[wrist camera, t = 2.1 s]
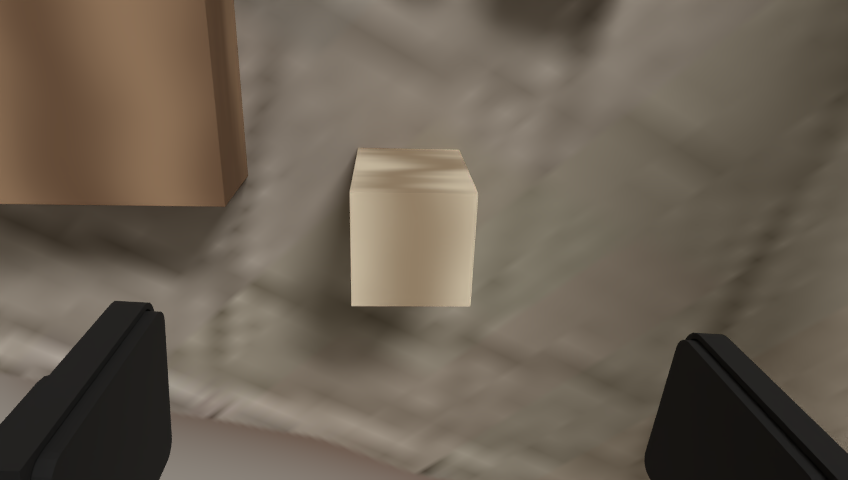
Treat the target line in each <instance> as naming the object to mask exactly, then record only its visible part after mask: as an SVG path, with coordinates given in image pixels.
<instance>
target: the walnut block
mask: <svg viewBox="0 0 848 480" xmlns="http://www.w3.org/2000/svg"><path fill="white" fill-rule="evenodd" d="M247 176H248V170H247V158H246V146H245V133H244V121H243V109H242V97H241V84H240V72H239V60H238V48H237V35H236V23H235V11H234V0H0V204H55V205H138V206H221V207H225V206H226V205H227V203H228V202H229V201H230V199H231V198H232V197H233V195H234V194H235V192H236V191H237V190H238V188H239V187H240V186H241V184H242V183H243V182H244V180H245V179H246V178H247Z"/></svg>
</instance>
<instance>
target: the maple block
mask: <svg viewBox="0 0 848 480" xmlns="http://www.w3.org/2000/svg"><path fill="white" fill-rule="evenodd" d="M477 204H478V192H477V190H476V188H475V185H474V183H473V181H472V178H471V176H470V174H469V171H468V169H467V167H466V165H465V162H464V160H463V158H462V155H461V153H460V151H459V150H444V149H389V148H358V151H357V156H356V162H355V167H354V172H353V177H352V183H351V188H350V243H351V306H470V305H471V290H472V276H473V261H474V247H475V233H476V218H477Z"/></svg>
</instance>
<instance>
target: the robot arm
mask: <svg viewBox="0 0 848 480" xmlns="http://www.w3.org/2000/svg"><path fill="white" fill-rule="evenodd" d="M171 443H172V435H171V418H170V401H169V384H168V368H167V351H166V335H165V320H164V315H163V313H162V312H155V311H154V309H153V306H152V305H151V303H143V302H125V301H114V302H113V303H111V305H110V306H109V307H108V308H107V309H106V310H105V311H104V313H103V314H102V315H101V316H100V317H99V318H98V320H97V321H96V322H95V323H94V324H93V325H92V326H91V328H90V329H89V330H88V331H87V332H86V333H85V335H84V336H83V337H82V338H81V339H80V340H79V341H78V343H77V344H76V345H75V346H74V347H73V348H72V350H71V351H70V352H69V353H68V354H67V355H66V356H65V358H64V359H63V360H62V361H61V362H60V363H59V365H58V366H57V367H56V368H55V369H54V370H53V371H52V373H51V374H50V375H48V376H44V377H43V378H42V379H41V380H39V381H38V382H37V383H36V384H35V386H34V387H33V388H32V389H31V390H30V391H29V393H27V395H26V396H25V397H24V398H23V399H22V400H21V401H20V403H19V404H18V405H17V406H16V407H15V408H14V409H13V411H12V412H11V413H10V414H9V415H8V416H7V417H6V418H5V420H4V421H3V422H2V423H1V424H0V480H159V479H160V476H161V474H162V472H163V470H164V468H165V465H166V463H167V461H168V458H169V455H170V450H171ZM645 468H646V471H647V474H648V476H649V478H650V479H651V480H848V453H847V452H846V451H844V450H843V449H842V448H841V447H840V446H839V445H838V444H837V443H836V442H835V441H834V440H833V439H832V438H831V437H830V436H829V435H828V434H827V433H826V432H825V431H824V430H823V429H822V428H821V427H820V426H819V425H818V424H817V423H816V422H815V421H813V420H812V419H811V418H810V417H809V416H808V415H807V414H806V413H805V412H804V411H803V410H802V409H801V408H800V407H799V406H798V405H797V404H796V403H795V402H794V401H793V400H792V399H791V398H790V397H789V396H788V395H787V394H786V393H785V392H784V391H782V390H781V389H780V388H779V387H778V386H777V385H776V384H775V383H774V382H773V381H772V380H771V379H770V378H769V377H768V376H767V375H766V374H765V373H764V372H763V371H762V370H761V369H760V368H759V367H758V366H757V365H756V364H755V363H754V362H753V361H751V360H750V359H749V358H748V357H747V356H746V355H745V354H744V353H743V352H742V351H741V350H740V349H739V348H738V347H737V346H736V345H735V344H734V343H733V342H732V341H731V340H730V339H729V338H728V337H726V336H725V335H721V334H704V333H692V334H690V335H689V336H688V337H687V338H686V340H682V341H680V342H679V343H678V345H677V347H676V351H675V354H674V357H673V361H672V364H671V368H670V371H669V374H668V378H667V381H666V384H665V388H664V391H663V395H662V398H661V401H660V405H659V408H658V412H657V415H656V418H655V422H654V425H653V428H652V432H651V435H650V439H649V442H648V445H647V449H646V452H645Z"/></svg>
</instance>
